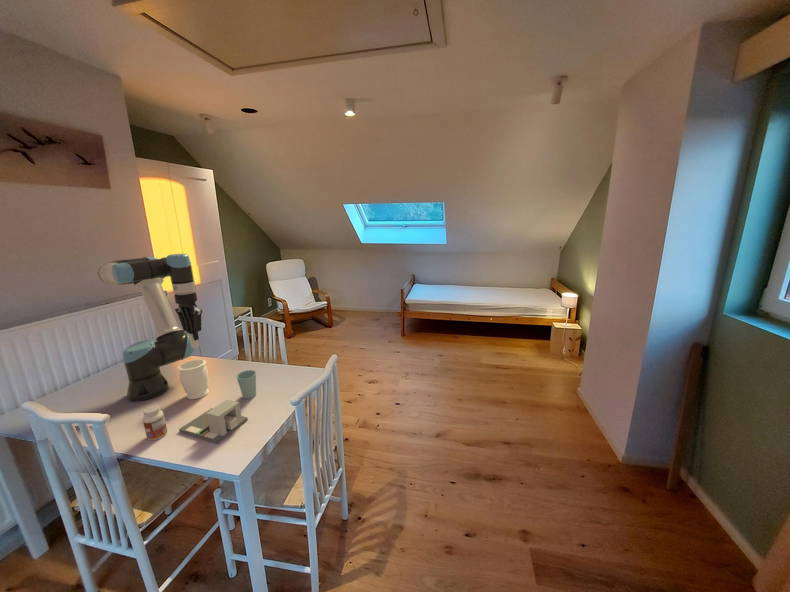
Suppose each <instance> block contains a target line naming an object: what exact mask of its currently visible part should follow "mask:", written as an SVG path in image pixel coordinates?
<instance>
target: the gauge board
mask: <svg viewBox="0 0 790 592" xmlns="http://www.w3.org/2000/svg"><path fill="white" fill-rule="evenodd" d="M205 413H206V414H207V419H208V424H209V429H208V430H206V431H205V432H203V433H202V434H199V432H201V431H202V430H204V429H205V428H207V427H208V425H207V420H206V415H205ZM225 415H228V416H232V417H235V418H237V422H238V425H237V426H236V427H235V428H233V429H232V430H230V429H227V428H226V424H225V419H224V416H225ZM248 419H249V418H248V417H247V416H243V415H242V411H241V406H240V402H239V401H236V400H231V399H226V400H224V401H222V402H221V403H220V404H218V405H216V406H215V407H212V408H210V409H208V410H207V411H204V413H201V414H200V415H199V416H197V417H196V418H194V419H193V420H191V421H189V422H188V423H186V424H185V425H183V426H182V427H180V428H178V432H179V433H181V434H185V435H189V436H191V437H195V438H198V439H201V440H205V441H207V442H210V443H214V444H216V445H217V444H218V443H220V442H221V441H222V440H224V439H225V438H226V437H228V436H229V435H231V434H232V433H233V432H235V430H237V429H238V428H239V427H241V426H242V425H243V424H245V423H246V422H247V421H248Z"/></svg>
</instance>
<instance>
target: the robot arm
mask: <svg viewBox="0 0 790 592" xmlns="http://www.w3.org/2000/svg"><path fill="white" fill-rule="evenodd" d="M97 275H98V278H99V279H100V280H101V281H102V282H103V283H105V284H107V285H113V286H114V285H115V286H122V285H123V286H124V285H132V284H133V285H134V288H135V289H138V290H140V292H141V294H142V297H143V299H144V302H145V304H146V307H147V310H148V312H149V315H150V317H151V320H152V322H153V325H154V328H155V330H156V332H157V336H156V337H155V341H154V340H152V339H151V340H150V339H146V340H141V341H139V342H135V343H133V344H131V345H128V346H127V347H126V348H124V350H123V351H122V353H121V355H122V362H123V364H124V367H125V368H124V369H125V372H126V375H127V379H128V384H127V385H128V387H127V391H126V395H127V399H128V400H129V401H132V402H141V401H147V400H149V399H150V400H151V399H153V398H156V397H157V396H160V395H162V394H164V393H165V392H167V390H168V389H169V382H168V380H167V379H166V378H165V376H164V374H163V373H162V372H161V367H163V366H167V365H170V364H173V363H176V362H178V361H183V360H185V359H188V358H190V357H192V356H193V354H194V350H195V349H197V348H198V347H200V340H199V339H200V337H199V332H200V331H202V313H203V310H202V309H201V308H200V309H199V308H198V307H197V304H196V302H197V301H198V296H197V292H196V285H195V280H194V275H193V269H192V262H191V259H190V256H189V254H187V253H173V254H168V255H167V256H166V257H165V256H164V257H161V258H156V257H154V256H153V257H152V256H144V257H138V258H135V257H134V258H127V259H117V260H116V259H115V260H112V261H109V262H107V263H104V264H102V265H101V266H100V267H99V269H98V271H97ZM167 277H170V282H171V286H172V290H173V294H174V301H175V304H177V305H178V307H177V308H175V309H174V310H175V312H176V314H177V316H178V317H177V318H178V319H179V321H180V324H181V327H182V328H180V327H179V325H178V322H177V320H176V317H175V315H174V313H173V310H172V308H171V305H170V303H169V300H168V297H167V296H166V293H165V290H164V288H163V285H162V284H163V283H164V281H165V280H164V279H166V278H167Z"/></svg>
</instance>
